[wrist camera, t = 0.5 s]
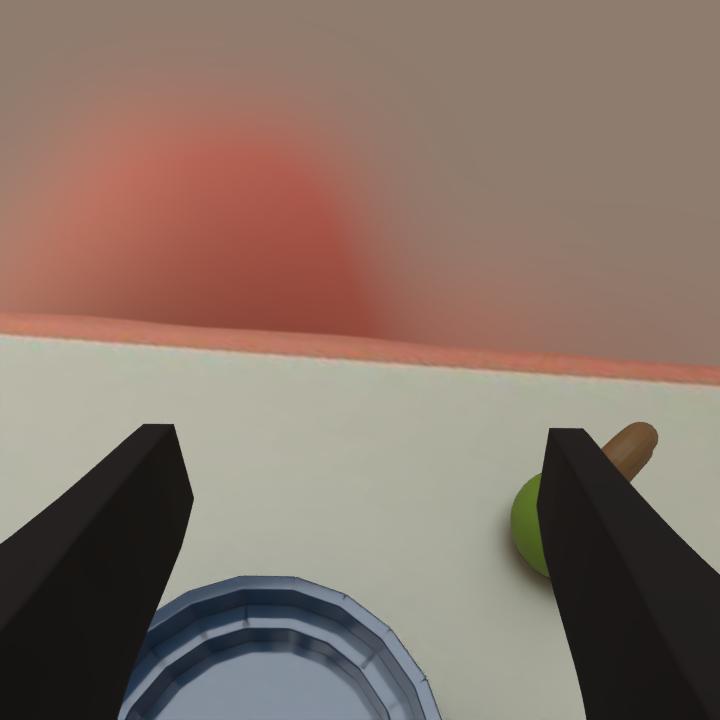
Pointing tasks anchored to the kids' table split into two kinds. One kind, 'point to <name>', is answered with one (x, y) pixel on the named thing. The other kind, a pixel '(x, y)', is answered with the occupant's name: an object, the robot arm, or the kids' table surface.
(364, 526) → the kids' table surface
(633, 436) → the snail figurine
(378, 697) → the bowl
